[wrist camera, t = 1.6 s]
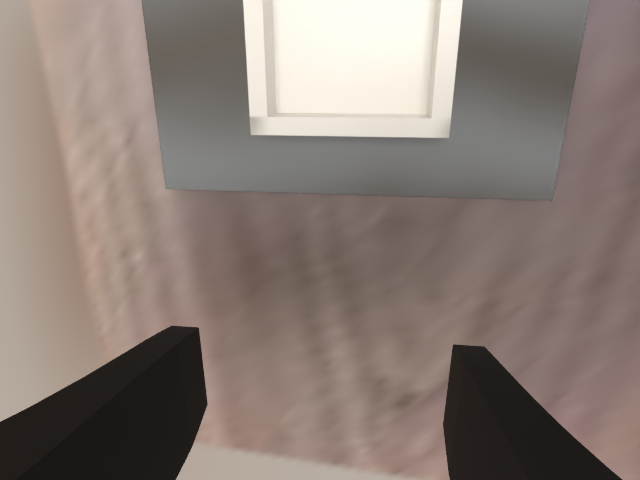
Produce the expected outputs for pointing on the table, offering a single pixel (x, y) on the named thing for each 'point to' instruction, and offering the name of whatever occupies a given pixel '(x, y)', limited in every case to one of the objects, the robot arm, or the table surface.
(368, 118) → the tray shell
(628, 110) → the table surface
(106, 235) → the table surface
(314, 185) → the overhang board
